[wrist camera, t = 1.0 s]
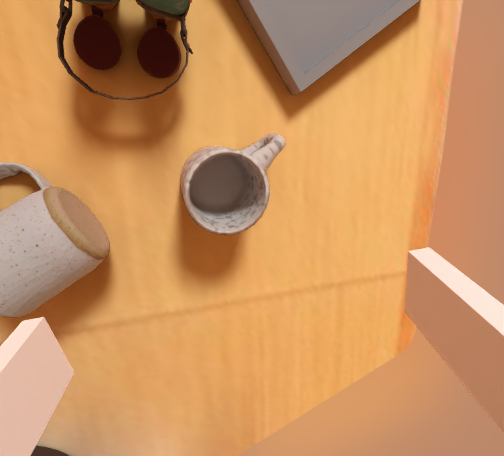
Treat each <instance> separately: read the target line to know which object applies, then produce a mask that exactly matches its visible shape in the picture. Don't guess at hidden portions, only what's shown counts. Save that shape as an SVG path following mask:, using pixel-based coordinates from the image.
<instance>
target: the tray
mask: <svg viewBox="0 0 504 456" xmlns="http://www.w3.org/2000/svg"><path fill="white" fill-rule="evenodd" d="M237 1H238V3H239V5H240V6H241V8H242V10H243V12H244V13H245V15H246V17H247V19H248V20H249V22H250V24H251V26H252V27H253V29H254V31H255V32H256V34H257V36H258V38H259V39H260V41H261V43H262V45H263V46H264V48H265V50H266V51H267V53H268V55H269V57H270V58H271V60H272V62H273V64H274V65H275V67H276V69H277V71H278V72H279V74H280V76H281V77H282V79H283V81H284V83H285V84H286V86H287V88H288V90H289V91H290V93H291V95H293V94H296V93H300V92H302V91H303V90H304V89H306V88H307V87H308V86H309V85H311V84H312V83H313V82H315V81H316V80H317V79H319V78H320V77H321V76H322V75H324V74H325V73H326V72H328V71H329V70H330V69H332V68H333V67H334V66H335V65H337V64H338V63H339V62H341V61H342V60H343V59H344V58H346V57H347V56H348V55H350V54H351V53H352V52H354V51H355V50H356V49H357V48H359V47H360V46H361V45H363V44H364V43H365V42H366V41H368V40H369V39H370V38H372V37H373V36H374V35H376V34H377V33H378V32H379V31H381V30H382V29H383V28H385V27H386V26H387V25H389V24H390V23H391V22H392V21H394V20H395V19H396V18H398V17H399V16H400V15H401V14H403V13H404V12H405V11H407V10H408V9H409V8H411V7H412V6H413V5H414V4H416V3H417V2H418V1H420V0H237Z"/></svg>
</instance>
